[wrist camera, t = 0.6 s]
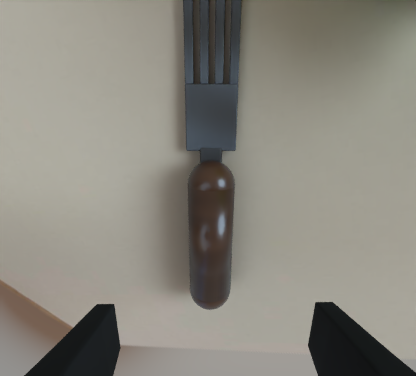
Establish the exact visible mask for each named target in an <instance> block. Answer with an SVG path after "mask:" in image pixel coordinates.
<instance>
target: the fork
mask: <svg viewBox="0 0 416 376" xmlns="http://www.w3.org/2000/svg"><path fill="white" fill-rule="evenodd" d="M183 10H184V56H185V107H186V150H187V151H200V164H198V165H197V166H195V167H194V169H193V170H192V171H191V173H190V175H189V178H188V220H189V267H190V293H191V296H192V298H193V300H194V301H195V303H196V304H197V305H199V306H200V307H202V308H204V309H209V310H212V309H216V308H219V307H220V306H222V305H223V304H224V303H225V302H226V301H227V299H228V297H229V294H230V285H231V261H232V237H233V212H234V188H235V184H234V177H233V174H232V172H231V171H230V169H229V168H228V167H227V166H226V165H224V164H223V163H222V151H235V150H236V128H237V103H238V73H239V48H240V24H241V0H231V34H230V68H229V84H223V71H224V27H225V0H216V14H215V84H208V50H209V0H200V84H194V64H193V0H183Z"/></svg>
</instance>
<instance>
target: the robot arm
mask: <svg viewBox="0 0 416 376" xmlns="http://www.w3.org/2000/svg"><path fill="white" fill-rule="evenodd" d="M308 347H309V350H310V353H311V356H312V359H313V362H314V365H315V368H316V371H317V373H318V376H416V373H415V372H414V371H413V370H411V368H409V367H408V366H407V365H406V364H404V363H403V362H402V361H401V360H400V359H398V358H397V357H396V356H395V355H394V354H392V353H391V352H390V351H389V350H388V349H386V348H385V347H384V346H383V345H382V344H381V343H379V342H378V341H377V340H376V339H375V338H374V337H372V336H371V335H370V334H369V333H368V332H367V331H365V330H364V329H363V328H362V327H361V326H360V325H359V324H357V323H356V322H355V321H354V320H353V319H352V318H350V317H349V316H348V315H347V314H346V313H345V312H344V311H342V310H341V309H340V308H339V307H338V306H336V305H335V304H334V303H333V302H316V303H315V309H314V314H313V320H312V326H311V331H310V337H309V343H308ZM119 351H120V341H119V334H118V328H117V321H116V314H115V307H114V304H97V305H96V306H95V307H94V308H93V309H92V310H91V311H90V312H88V313H87V314H86V315H85V317H84V318H83V319H82V320H81V321H80V322H79V323H78V324H77V325H76V326H75V327H74V328H73V329H72V330H71V331H70V332H69V333H68V334H67V335H66V336H65V337H64V338H63V339H62V340H61V341H60V342H59V343H58V344H57V345H56V346H55V347H54V348H53V349H52V350H51V351H49V352H48V353H47V354H46V355H45V356H44V357H43V358H42V359H41V360H40V361H39V362H38V363H37V364H36V365H35V366H34V367H33V368H32V369H31V370H30V371H29V372H28V373H27V374H26V375H24V376H113V374H114V370H115V366H116V362H117V358H118V355H119Z"/></svg>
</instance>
